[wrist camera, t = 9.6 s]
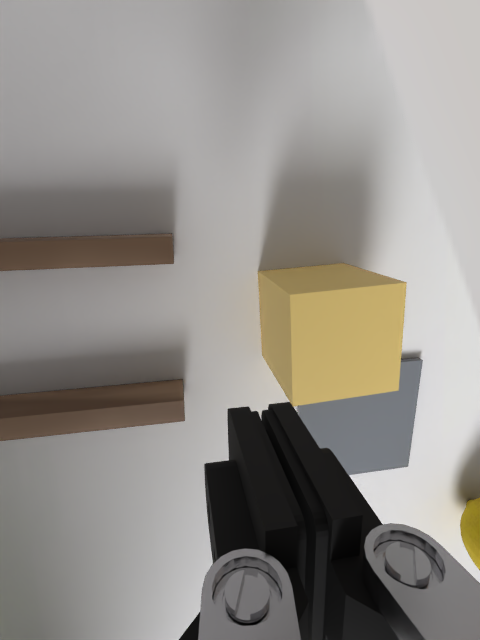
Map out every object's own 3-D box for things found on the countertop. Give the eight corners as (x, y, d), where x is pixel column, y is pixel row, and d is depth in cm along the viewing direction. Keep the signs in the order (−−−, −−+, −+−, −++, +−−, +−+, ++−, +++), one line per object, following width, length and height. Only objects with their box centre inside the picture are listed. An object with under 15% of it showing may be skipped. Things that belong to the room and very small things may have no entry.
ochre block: (341, 344, 22) (398, 390, 17) (261, 354, 21) (292, 406, 16) (343, 263, 21) (406, 282, 15) (257, 270, 20) (290, 294, 14)
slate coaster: (404, 462, 26) (407, 466, 25) (295, 477, 24) (297, 482, 24) (418, 357, 23) (422, 360, 23) (298, 368, 22) (301, 371, 22)
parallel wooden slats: (183, 397, 21) (184, 420, 19) (-43, 419, 19) (-73, 448, 17) (172, 233, 19) (171, 236, 16) (-92, 241, 17) (-137, 245, 14)
